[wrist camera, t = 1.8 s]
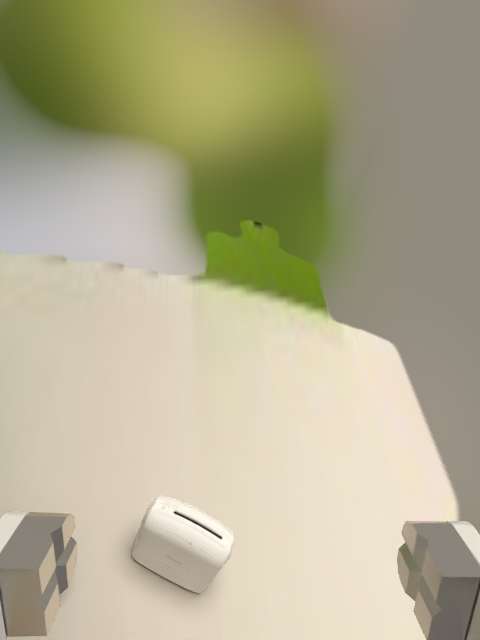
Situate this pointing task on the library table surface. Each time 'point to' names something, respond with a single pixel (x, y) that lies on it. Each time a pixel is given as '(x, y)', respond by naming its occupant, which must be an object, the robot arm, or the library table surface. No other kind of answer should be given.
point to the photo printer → (182, 543)
